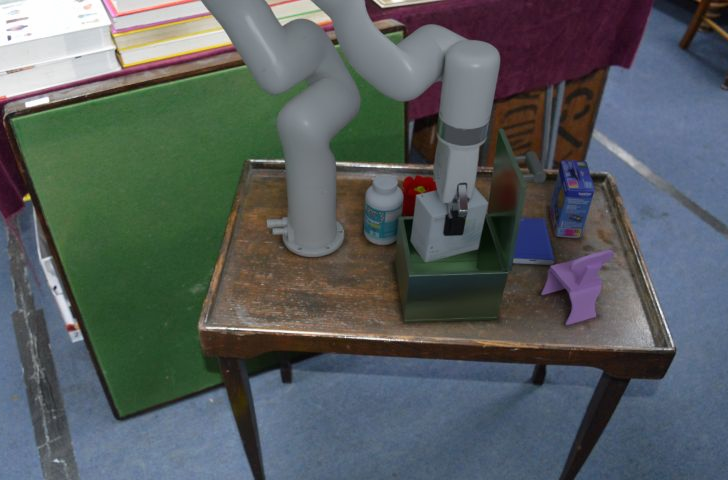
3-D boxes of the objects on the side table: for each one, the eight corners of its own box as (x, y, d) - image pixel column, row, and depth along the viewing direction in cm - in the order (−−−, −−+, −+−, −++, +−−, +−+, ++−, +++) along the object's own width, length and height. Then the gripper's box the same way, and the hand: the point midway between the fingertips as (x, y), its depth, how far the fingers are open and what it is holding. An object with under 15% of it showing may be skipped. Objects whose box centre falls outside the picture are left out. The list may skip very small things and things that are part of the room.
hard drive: (505, 216, 136) (512, 257, 128) (545, 218, 136) (555, 259, 127) (503, 222, 137) (510, 263, 129) (544, 224, 137) (553, 265, 128)
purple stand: (573, 282, 125) (594, 221, 114) (601, 315, 119) (627, 253, 108) (534, 293, 123) (553, 231, 112) (561, 327, 117) (583, 265, 106)
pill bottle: (357, 230, 136) (358, 176, 127) (388, 219, 139) (391, 165, 129) (375, 251, 131) (378, 197, 122) (407, 240, 134) (412, 185, 124)
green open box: (404, 323, 118) (409, 276, 110) (394, 263, 129) (398, 216, 121) (496, 320, 118) (508, 272, 110) (479, 260, 129) (489, 213, 121)
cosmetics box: (425, 265, 112) (431, 216, 105) (409, 241, 117) (414, 193, 109) (480, 250, 115) (489, 202, 107) (462, 228, 119) (470, 180, 112)
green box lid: (521, 185, 97) (557, 183, 97) (498, 128, 108) (530, 126, 108) (506, 270, 110) (538, 268, 109) (487, 211, 121) (516, 209, 120)
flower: (391, 218, 139) (393, 187, 133) (409, 199, 143) (412, 168, 138) (424, 231, 136) (428, 200, 130) (442, 212, 140) (446, 181, 134)
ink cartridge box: (546, 207, 141) (562, 149, 131) (573, 208, 140) (591, 150, 130) (553, 237, 134) (570, 178, 124) (581, 239, 133) (601, 180, 123)
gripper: (429, 98, 105) (419, 188, 117) (447, 160, 93) (434, 254, 105) (476, 96, 105) (461, 186, 118) (500, 159, 93) (481, 252, 105)
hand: (448, 217), depth 111 cm, fingers closed on cosmetics box, 7 cm apart
